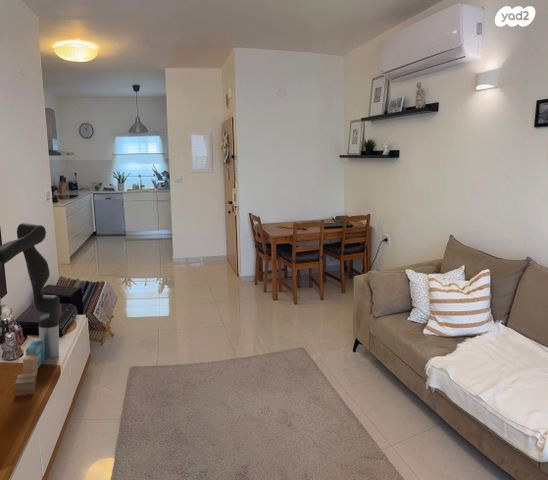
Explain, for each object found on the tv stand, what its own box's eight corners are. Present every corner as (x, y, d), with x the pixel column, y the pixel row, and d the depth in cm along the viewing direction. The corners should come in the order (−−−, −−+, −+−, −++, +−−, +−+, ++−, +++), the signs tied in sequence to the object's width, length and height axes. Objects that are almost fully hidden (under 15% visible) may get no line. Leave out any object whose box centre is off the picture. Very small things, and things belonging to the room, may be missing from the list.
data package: (36, 372, 215) (35, 348, 213) (26, 372, 214) (25, 348, 212) (43, 362, 226) (42, 339, 225) (33, 362, 225) (33, 340, 224)
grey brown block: (18, 387, 199) (18, 374, 198) (36, 385, 202) (36, 372, 201) (15, 396, 191) (15, 383, 190) (33, 394, 194) (33, 381, 193)
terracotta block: (23, 379, 206) (23, 359, 205) (27, 375, 211) (27, 355, 209) (33, 379, 207) (33, 359, 206) (37, 375, 211) (37, 355, 210)
